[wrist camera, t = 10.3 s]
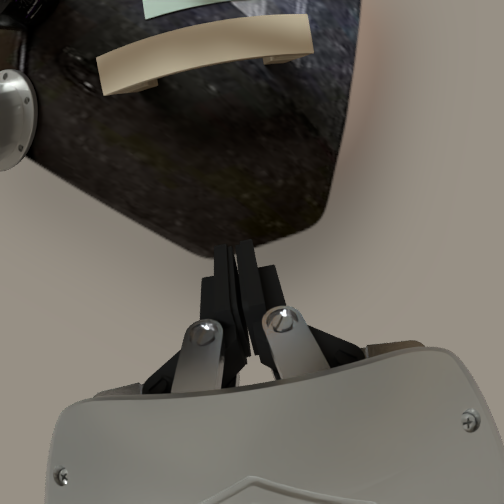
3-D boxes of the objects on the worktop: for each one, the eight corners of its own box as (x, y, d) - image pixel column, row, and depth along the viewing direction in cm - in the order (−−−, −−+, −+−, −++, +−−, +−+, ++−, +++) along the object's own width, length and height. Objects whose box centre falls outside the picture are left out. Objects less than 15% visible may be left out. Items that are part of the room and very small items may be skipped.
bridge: (284, 62, 21) (313, 53, 14) (138, 91, 21) (103, 95, 14) (280, 35, 20) (307, 14, 12) (133, 64, 19) (96, 57, 12)
